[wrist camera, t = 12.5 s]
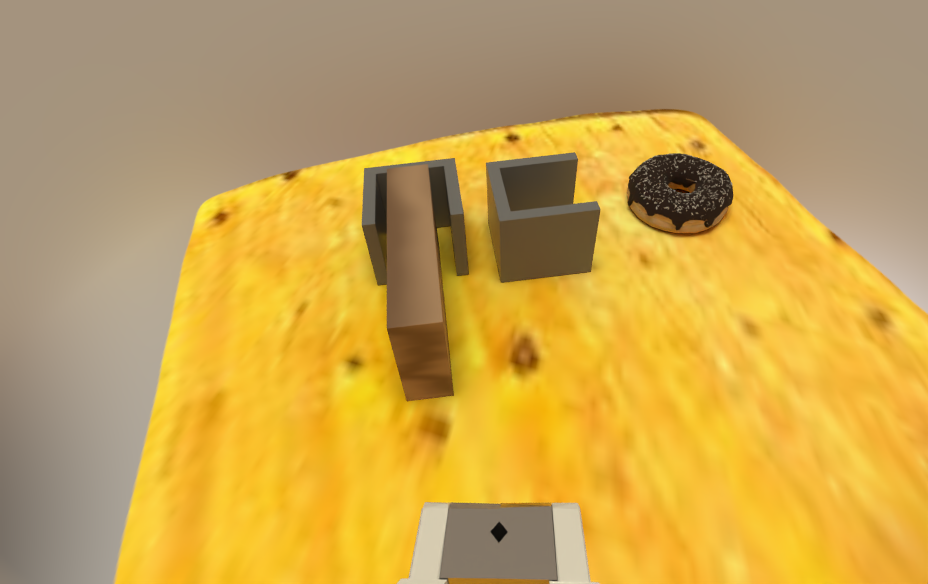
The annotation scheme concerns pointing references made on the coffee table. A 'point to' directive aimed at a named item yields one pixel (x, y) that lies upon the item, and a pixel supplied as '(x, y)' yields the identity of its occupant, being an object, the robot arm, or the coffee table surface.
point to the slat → (416, 286)
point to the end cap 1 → (444, 209)
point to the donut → (674, 209)
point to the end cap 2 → (539, 218)
